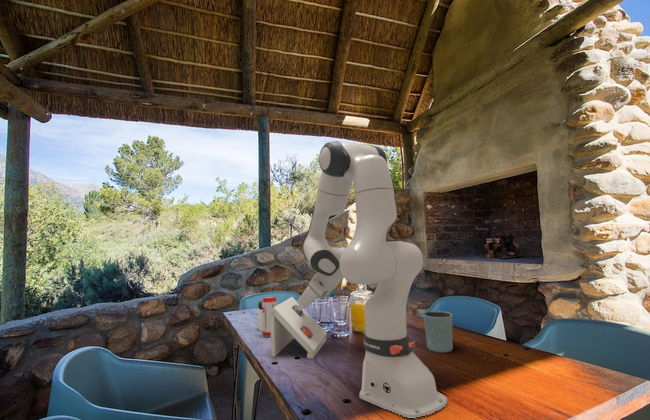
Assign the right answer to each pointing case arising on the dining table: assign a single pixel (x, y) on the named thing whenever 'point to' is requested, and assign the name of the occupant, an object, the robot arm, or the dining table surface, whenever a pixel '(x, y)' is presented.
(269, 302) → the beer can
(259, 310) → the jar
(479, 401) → the dining table surface
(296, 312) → the charcoal button
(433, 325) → the grey green cup
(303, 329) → the red button
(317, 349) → the console
